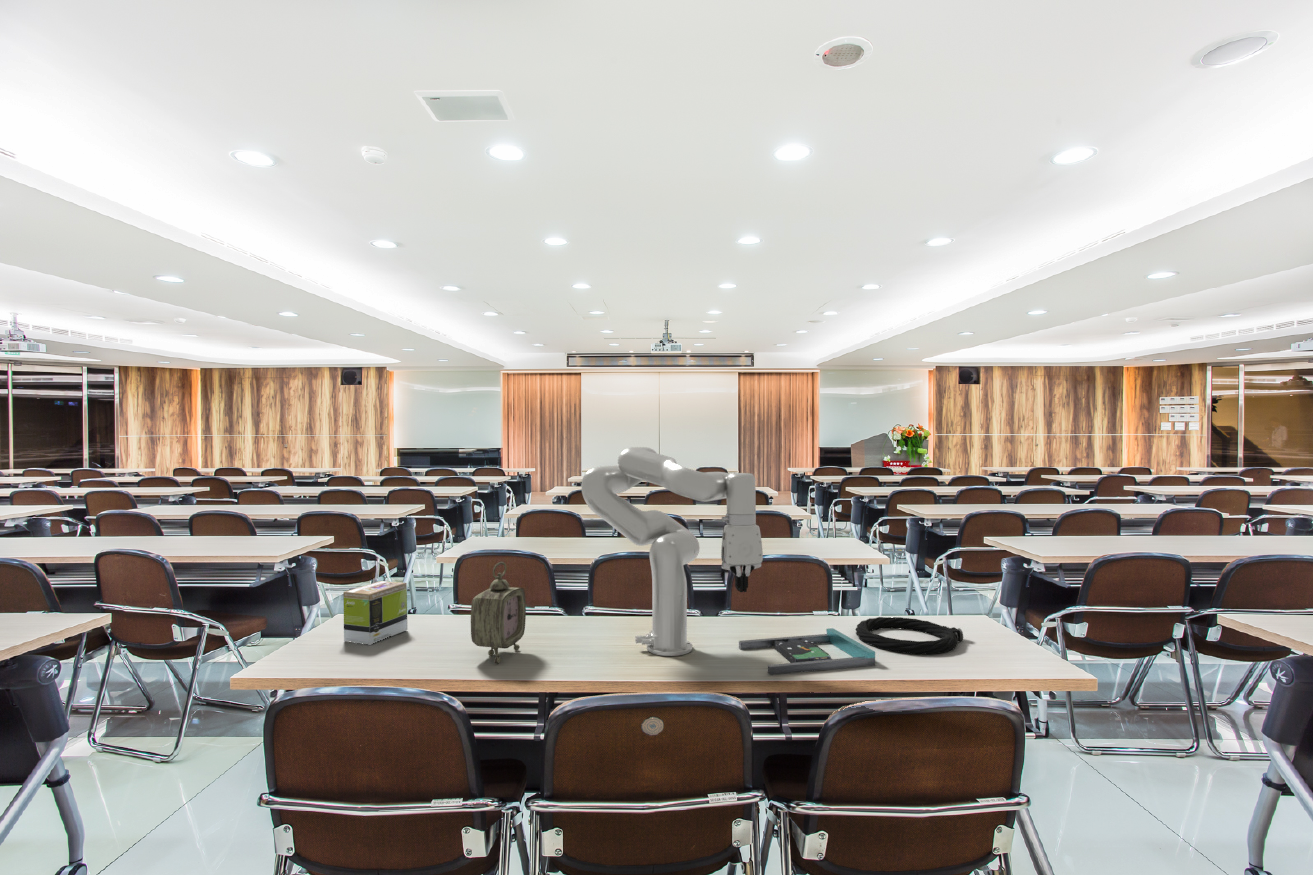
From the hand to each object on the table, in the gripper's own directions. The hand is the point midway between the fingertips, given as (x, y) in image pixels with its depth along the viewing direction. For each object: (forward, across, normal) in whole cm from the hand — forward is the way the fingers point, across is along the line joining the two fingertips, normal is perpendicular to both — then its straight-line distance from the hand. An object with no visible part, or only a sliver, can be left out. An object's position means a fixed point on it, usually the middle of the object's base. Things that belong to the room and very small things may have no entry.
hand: (741, 590), depth 161 cm
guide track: (+18, +18, 0) cm, 26 cm away
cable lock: (+19, +54, +6) cm, 58 cm away
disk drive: (+19, +17, 0) cm, 26 cm away
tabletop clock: (+18, -62, +19) cm, 67 cm away
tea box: (+18, -97, +45) cm, 108 cm away
